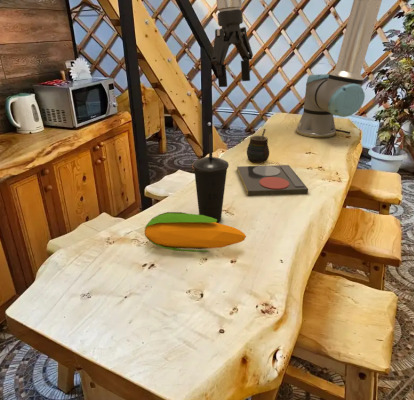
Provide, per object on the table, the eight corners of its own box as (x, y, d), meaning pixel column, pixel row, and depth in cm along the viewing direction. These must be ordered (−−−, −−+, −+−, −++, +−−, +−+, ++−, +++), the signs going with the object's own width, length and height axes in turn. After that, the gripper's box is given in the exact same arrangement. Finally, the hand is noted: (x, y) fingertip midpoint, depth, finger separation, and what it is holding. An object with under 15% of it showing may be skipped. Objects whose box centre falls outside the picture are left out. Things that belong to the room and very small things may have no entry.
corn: (148, 202, 75) (247, 207, 73) (151, 233, 78) (245, 239, 76) (138, 222, 68) (246, 229, 66) (142, 255, 72) (244, 262, 70)
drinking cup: (188, 215, 86) (186, 131, 77) (218, 209, 89) (219, 128, 80) (200, 231, 80) (200, 141, 71) (232, 224, 82) (236, 137, 74)
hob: (288, 169, 113) (288, 164, 113) (307, 194, 97) (308, 188, 96) (236, 171, 112) (237, 165, 111) (247, 196, 96) (248, 190, 95)
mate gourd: (242, 163, 118) (244, 132, 114) (250, 156, 124) (251, 127, 120) (264, 166, 115) (267, 135, 111) (271, 159, 122) (273, 129, 117)
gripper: (241, 12, 122) (245, 79, 130) (194, 12, 104) (202, 89, 112) (261, 8, 118) (264, 78, 126) (215, 8, 100) (222, 89, 108)
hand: (235, 83), depth 119 cm, fingers open, 13 cm apart
